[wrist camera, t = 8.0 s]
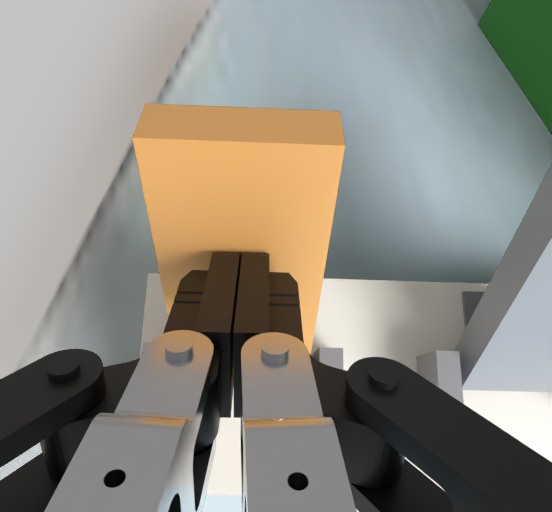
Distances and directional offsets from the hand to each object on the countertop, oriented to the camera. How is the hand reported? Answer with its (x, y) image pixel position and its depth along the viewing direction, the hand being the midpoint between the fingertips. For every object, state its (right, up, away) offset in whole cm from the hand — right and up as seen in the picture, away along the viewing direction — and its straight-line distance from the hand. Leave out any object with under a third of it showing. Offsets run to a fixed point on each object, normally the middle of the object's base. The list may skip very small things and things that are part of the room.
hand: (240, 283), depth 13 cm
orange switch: (0, -4, +5) cm, 7 cm away
